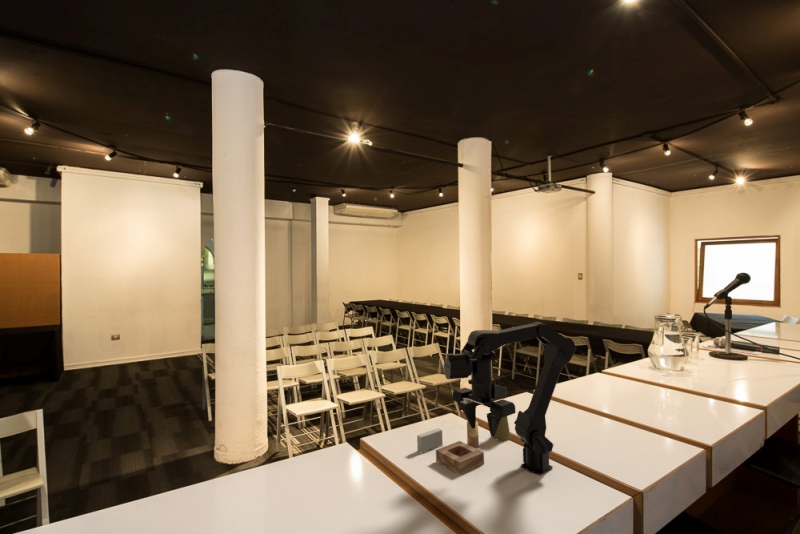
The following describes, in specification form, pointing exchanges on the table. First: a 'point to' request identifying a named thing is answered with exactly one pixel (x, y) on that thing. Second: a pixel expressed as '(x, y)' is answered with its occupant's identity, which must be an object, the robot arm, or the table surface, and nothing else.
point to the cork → (503, 430)
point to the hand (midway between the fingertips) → (482, 432)
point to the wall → (429, 440)
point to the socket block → (460, 457)
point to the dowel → (472, 436)
